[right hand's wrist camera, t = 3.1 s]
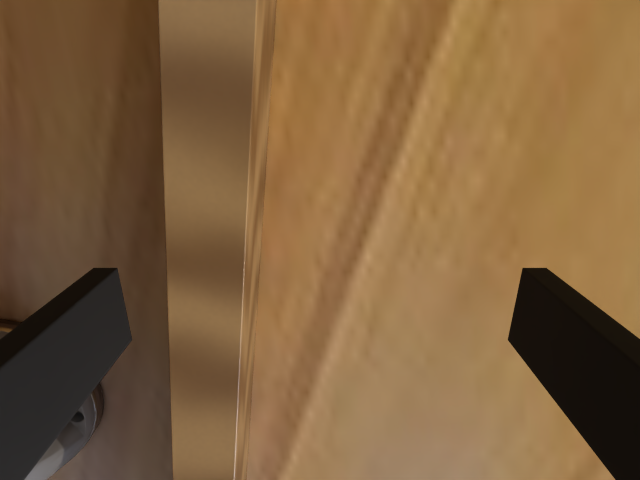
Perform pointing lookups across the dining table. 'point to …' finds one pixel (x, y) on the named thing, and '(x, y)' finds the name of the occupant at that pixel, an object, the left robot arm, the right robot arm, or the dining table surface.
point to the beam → (213, 221)
